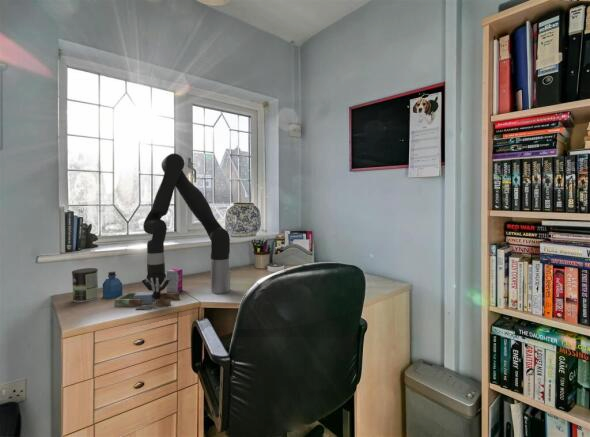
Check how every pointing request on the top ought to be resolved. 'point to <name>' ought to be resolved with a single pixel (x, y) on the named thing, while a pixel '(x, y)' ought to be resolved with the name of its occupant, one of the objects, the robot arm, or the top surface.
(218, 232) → the robot arm
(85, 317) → the top surface
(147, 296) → the slate block
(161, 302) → the channel
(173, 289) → the supplement box
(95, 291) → the coffee can
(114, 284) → the perfume bottle
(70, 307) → the top surface
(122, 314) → the top surface
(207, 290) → the top surface
